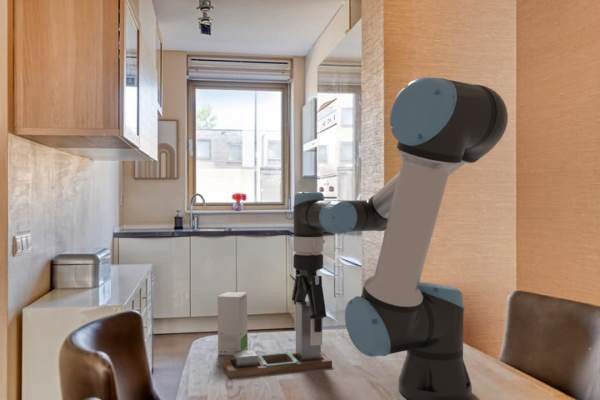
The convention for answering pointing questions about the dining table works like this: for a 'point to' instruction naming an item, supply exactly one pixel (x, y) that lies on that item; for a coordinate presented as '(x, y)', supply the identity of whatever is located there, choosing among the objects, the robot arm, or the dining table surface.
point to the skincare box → (232, 323)
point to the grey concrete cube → (245, 359)
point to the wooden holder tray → (266, 368)
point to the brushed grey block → (305, 334)
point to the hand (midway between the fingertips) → (307, 337)
